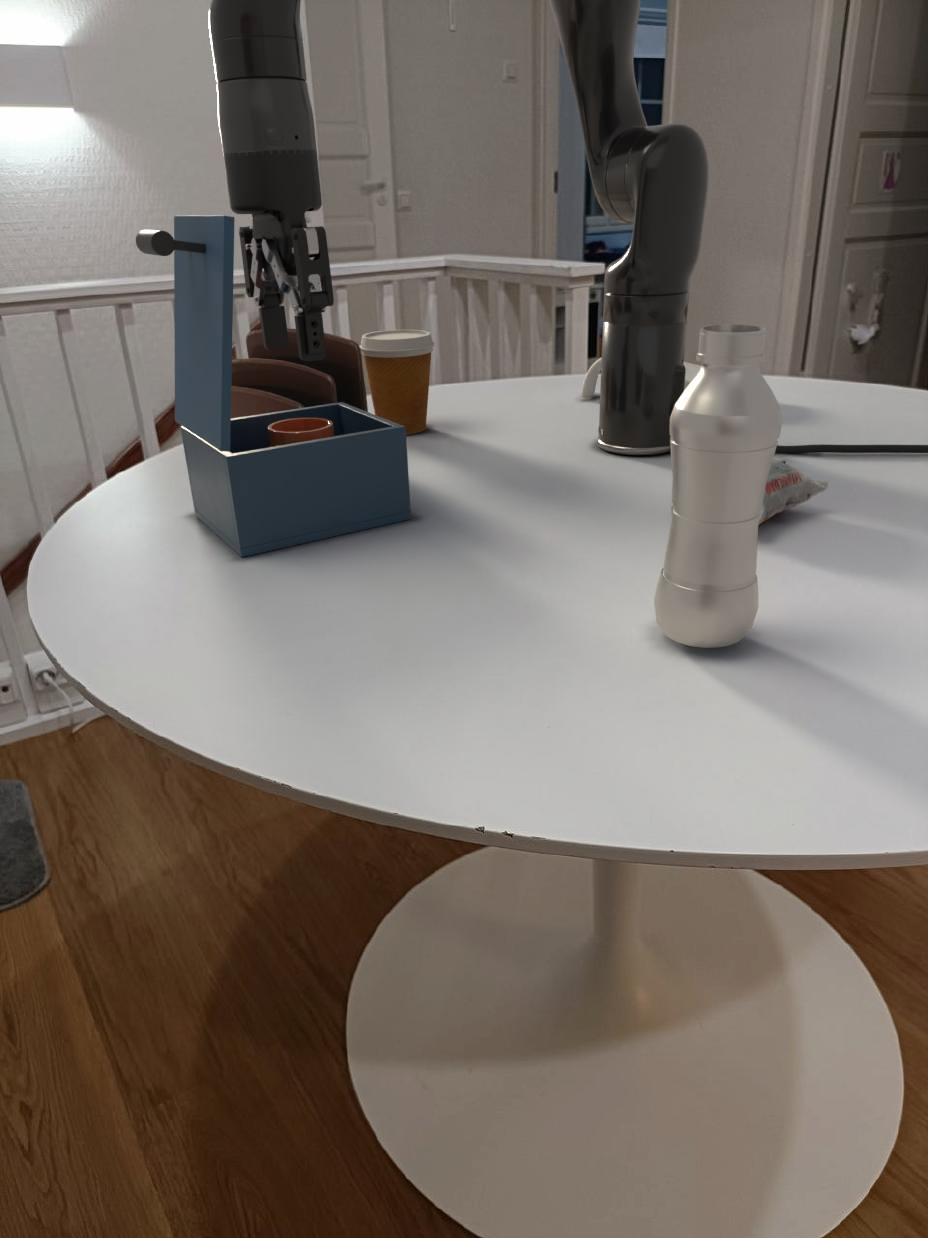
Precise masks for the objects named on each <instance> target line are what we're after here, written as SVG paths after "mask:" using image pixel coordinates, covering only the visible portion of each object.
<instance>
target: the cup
mask: <svg viewBox="0 0 928 1238" xmlns="http://www.w3.org/2000/svg"><path fill="white" fill-rule="evenodd" d="M268 435H269V442H270V447H275V446H281V445H286V444H292V443H298V442H304V441H310V440H316V439H322V438H328V437H334V428H333V423H332V421H330V420H327V419H323V418H294V419H287V420H281V421H278V422H275V423H272V424H270V425H269V426H268Z"/></svg>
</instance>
